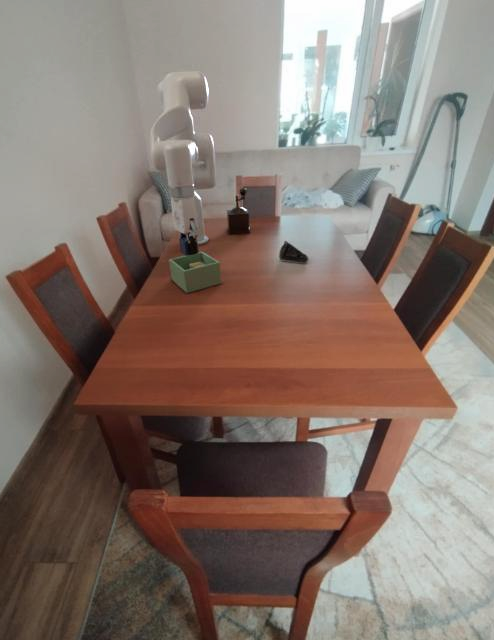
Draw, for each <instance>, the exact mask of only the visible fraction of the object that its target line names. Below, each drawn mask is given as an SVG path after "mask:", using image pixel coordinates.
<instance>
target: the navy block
mask: <svg viewBox="0 0 494 640" xmlns="http://www.w3.org/2000/svg"><path fill="white" fill-rule="evenodd" d="M189 237H190V236H189ZM196 240H197V239H196ZM178 242H179V249H180V253H181V254H182V255H183V256H188V250H187V243H188V241H187V237H183V238H180V237H179V238H178ZM196 244H197V253H199V252H200V251H199V245H198V243H197V242H196Z"/></svg>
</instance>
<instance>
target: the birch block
mask: <svg viewBox="0 0 494 640" xmlns="http://www.w3.org/2000/svg"><path fill="white" fill-rule="evenodd" d="M204 265H205V264H203V263H202V262H201V261H200V262H196V263H191V264H189V267H190V269H192V268H196V267H200V266H204Z"/></svg>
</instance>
